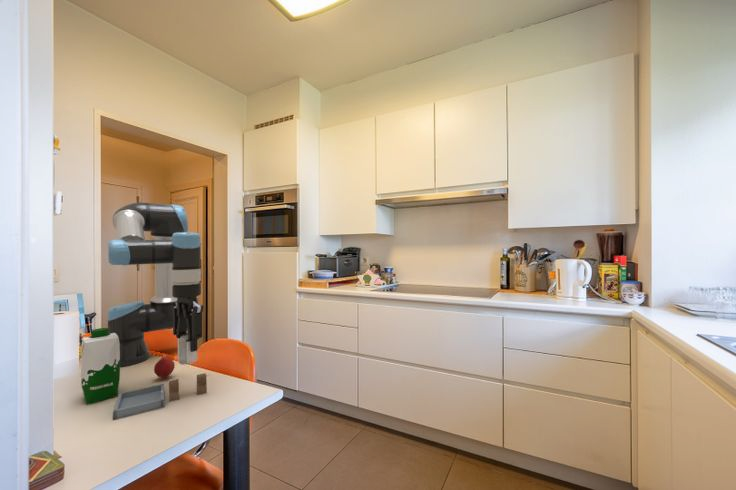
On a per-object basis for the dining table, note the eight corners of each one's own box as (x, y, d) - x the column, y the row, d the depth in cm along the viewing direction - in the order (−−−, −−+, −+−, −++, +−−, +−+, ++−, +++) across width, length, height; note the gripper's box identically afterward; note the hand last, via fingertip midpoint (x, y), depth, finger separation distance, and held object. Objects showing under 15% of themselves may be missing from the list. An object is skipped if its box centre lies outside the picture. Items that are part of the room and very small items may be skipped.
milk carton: (117, 387, 99) (117, 325, 99) (121, 396, 93) (121, 329, 93) (80, 397, 93) (80, 331, 93) (82, 407, 86) (82, 336, 87)
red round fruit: (167, 381, 103) (166, 357, 103) (150, 382, 103) (149, 358, 103) (178, 374, 108) (177, 352, 109) (162, 375, 109) (161, 352, 109)
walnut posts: (169, 397, 91) (168, 380, 91) (205, 389, 96) (205, 373, 96) (169, 401, 88) (169, 384, 88) (206, 392, 94) (206, 376, 94)
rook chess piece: (198, 358, 95) (196, 333, 95) (190, 364, 91) (188, 337, 90) (184, 359, 95) (182, 334, 95) (175, 365, 91) (173, 338, 90)
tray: (119, 400, 90) (119, 393, 90) (164, 390, 96) (164, 383, 96) (113, 420, 79) (112, 411, 79) (164, 407, 85) (164, 399, 85)
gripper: (215, 283, 92) (216, 361, 91) (184, 280, 101) (184, 352, 101) (190, 286, 85) (190, 370, 85) (159, 283, 94) (159, 359, 94)
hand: (187, 360), depth 93 cm, fingers closed on rook chess piece, 4 cm apart
